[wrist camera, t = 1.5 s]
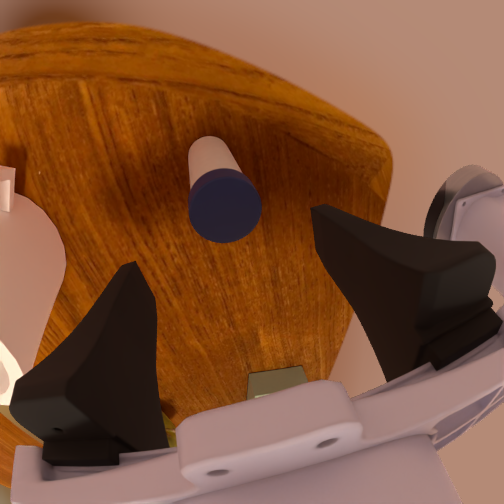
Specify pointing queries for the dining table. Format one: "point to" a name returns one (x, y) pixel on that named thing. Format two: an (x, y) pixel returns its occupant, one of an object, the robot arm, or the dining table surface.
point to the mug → (24, 280)
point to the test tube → (220, 193)
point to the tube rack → (274, 381)
